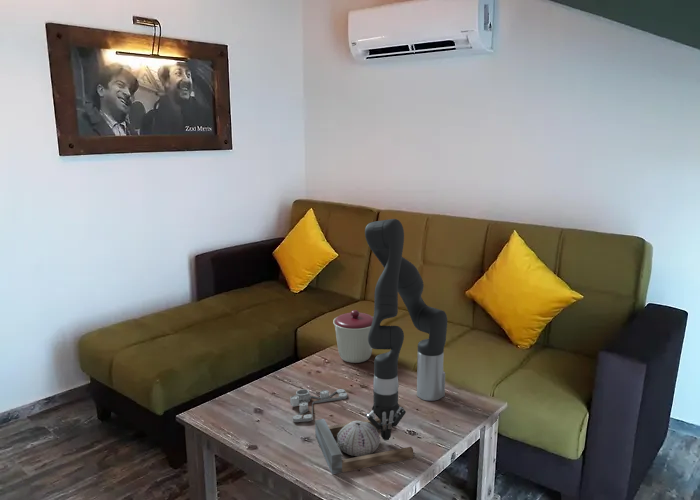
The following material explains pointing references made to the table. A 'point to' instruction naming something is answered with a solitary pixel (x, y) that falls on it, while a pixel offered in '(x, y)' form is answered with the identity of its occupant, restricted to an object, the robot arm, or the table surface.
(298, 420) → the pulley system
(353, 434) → the sea urchin shell
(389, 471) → the table surface
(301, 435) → the table surface
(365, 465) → the track
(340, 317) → the canister
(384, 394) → the robot arm
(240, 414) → the table surface
